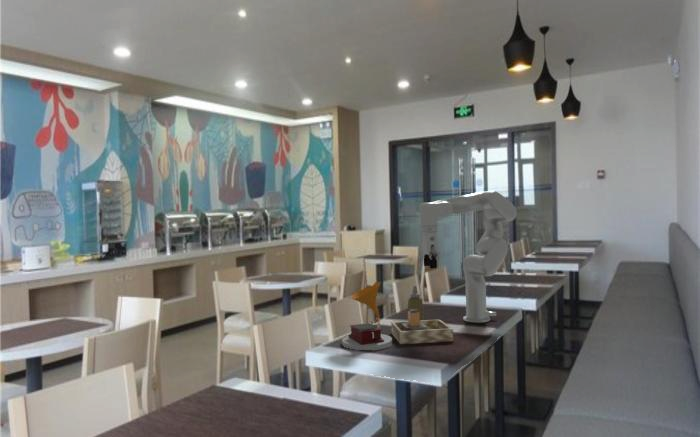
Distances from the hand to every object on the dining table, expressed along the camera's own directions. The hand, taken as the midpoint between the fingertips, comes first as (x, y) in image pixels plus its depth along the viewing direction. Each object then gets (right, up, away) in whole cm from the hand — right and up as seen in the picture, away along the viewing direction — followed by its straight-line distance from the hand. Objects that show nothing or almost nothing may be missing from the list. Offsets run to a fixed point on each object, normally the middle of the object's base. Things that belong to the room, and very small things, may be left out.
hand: (430, 267), depth 222 cm
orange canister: (-9, -28, -16) cm, 33 cm away
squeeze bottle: (-5, -28, +10) cm, 30 cm away
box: (-6, -28, -15) cm, 33 cm away
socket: (-9, -28, -16) cm, 34 cm away
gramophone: (-30, -29, -23) cm, 48 cm away
